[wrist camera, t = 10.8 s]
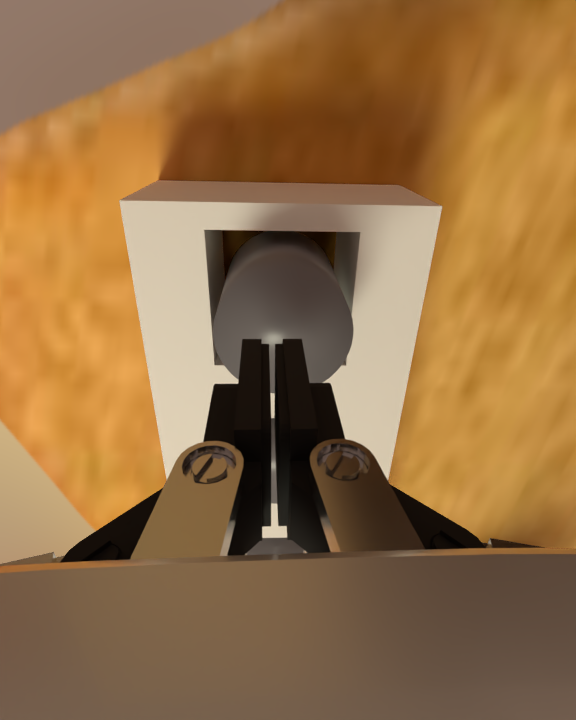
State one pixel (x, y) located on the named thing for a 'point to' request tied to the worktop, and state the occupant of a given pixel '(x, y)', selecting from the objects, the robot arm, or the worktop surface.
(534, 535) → the worktop surface
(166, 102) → the worktop surface
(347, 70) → the worktop surface
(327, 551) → the robot arm
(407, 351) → the button panel
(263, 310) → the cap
